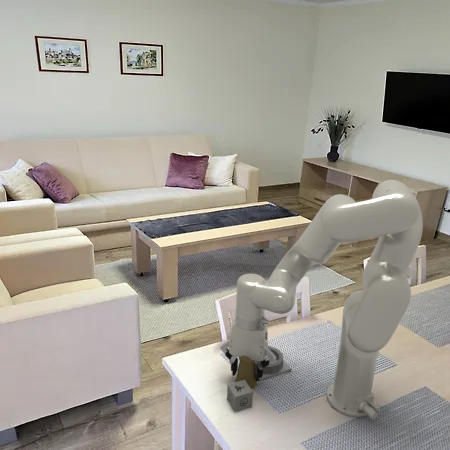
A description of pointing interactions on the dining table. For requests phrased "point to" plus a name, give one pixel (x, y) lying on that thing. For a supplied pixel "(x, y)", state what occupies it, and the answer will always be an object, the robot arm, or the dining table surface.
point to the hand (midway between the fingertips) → (246, 375)
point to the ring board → (274, 366)
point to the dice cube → (239, 395)
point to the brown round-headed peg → (247, 371)
